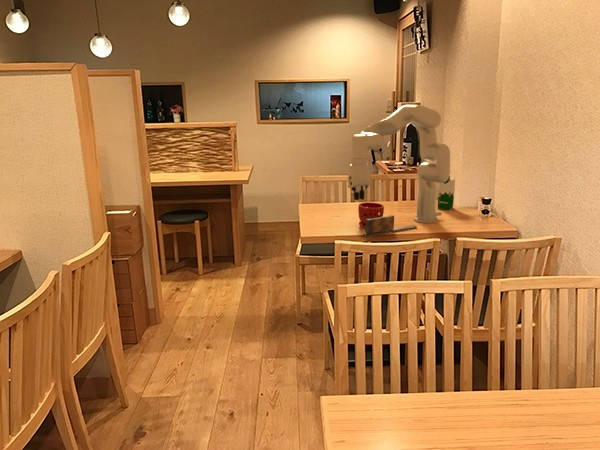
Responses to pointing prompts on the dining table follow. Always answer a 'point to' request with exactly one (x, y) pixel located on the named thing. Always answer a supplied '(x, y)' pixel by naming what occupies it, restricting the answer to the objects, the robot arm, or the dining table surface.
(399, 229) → the screen rail
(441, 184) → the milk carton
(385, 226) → the walnut screen
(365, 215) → the plant pot
